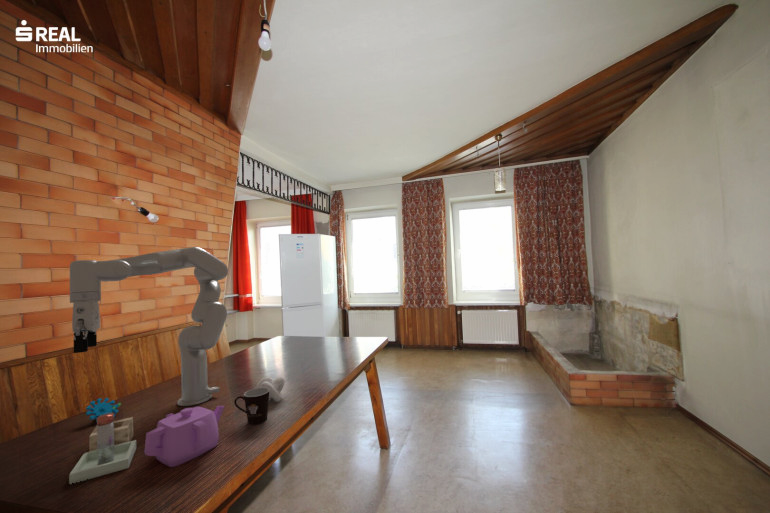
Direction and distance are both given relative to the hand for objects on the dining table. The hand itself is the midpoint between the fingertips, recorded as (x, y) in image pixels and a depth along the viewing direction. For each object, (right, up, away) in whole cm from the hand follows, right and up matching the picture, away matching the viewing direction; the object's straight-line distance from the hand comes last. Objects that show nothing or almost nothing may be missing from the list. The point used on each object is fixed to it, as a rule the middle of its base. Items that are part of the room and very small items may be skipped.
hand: (85, 349), depth 103 cm
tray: (+19, -29, -14) cm, 37 cm away
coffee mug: (+52, -28, +9) cm, 60 cm away
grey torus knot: (+52, -29, +27) cm, 66 cm away
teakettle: (+39, -28, -9) cm, 49 cm away
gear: (-9, -32, +17) cm, 37 cm away
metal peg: (+19, -28, -14) cm, 37 cm away
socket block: (+12, -30, -4) cm, 32 cm away
